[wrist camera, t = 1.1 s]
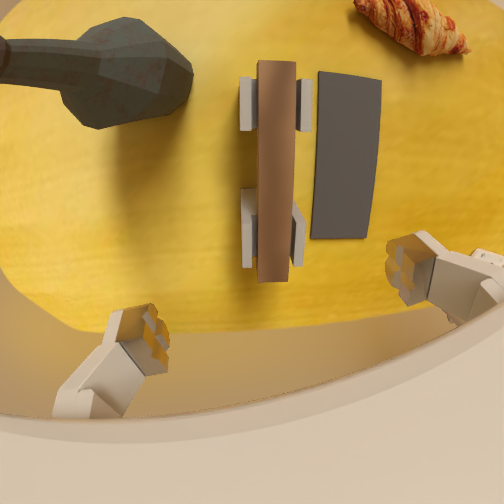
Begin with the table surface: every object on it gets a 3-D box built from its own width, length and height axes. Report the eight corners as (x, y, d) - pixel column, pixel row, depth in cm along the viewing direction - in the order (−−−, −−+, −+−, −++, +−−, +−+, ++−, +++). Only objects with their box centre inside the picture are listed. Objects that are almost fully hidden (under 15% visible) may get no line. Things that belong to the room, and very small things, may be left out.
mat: (379, 80, 33) (381, 80, 32) (364, 236, 44) (366, 238, 43) (318, 71, 32) (319, 71, 32) (310, 236, 44) (311, 238, 43)
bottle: (183, 123, 35) (45, 186, 9) (115, 114, 34) (-71, 170, 7) (201, 50, 30) (108, -68, 4) (131, 44, 29) (-40, -13, 2)
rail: (290, 66, 24) (296, 61, 21) (284, 267, 34) (287, 281, 32) (256, 64, 24) (258, 60, 21) (256, 267, 34) (257, 282, 31)
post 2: (287, 188, 40) (306, 222, 29) (285, 221, 42) (302, 266, 31) (240, 188, 40) (241, 223, 29) (241, 222, 42) (242, 267, 31)
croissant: (450, 37, 30) (474, 16, 22) (467, 82, 30) (497, 62, 22) (340, -2, 29) (357, -37, 21) (351, 42, 29) (375, 5, 21)
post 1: (289, 87, 33) (312, 79, 22) (289, 123, 36) (311, 132, 25) (239, 86, 33) (239, 76, 22) (239, 123, 35) (240, 130, 25)
